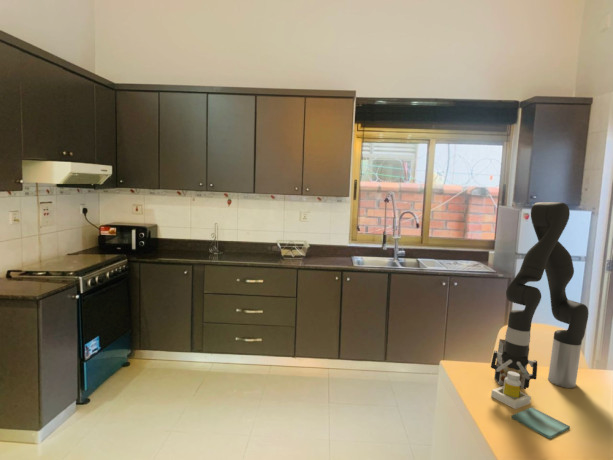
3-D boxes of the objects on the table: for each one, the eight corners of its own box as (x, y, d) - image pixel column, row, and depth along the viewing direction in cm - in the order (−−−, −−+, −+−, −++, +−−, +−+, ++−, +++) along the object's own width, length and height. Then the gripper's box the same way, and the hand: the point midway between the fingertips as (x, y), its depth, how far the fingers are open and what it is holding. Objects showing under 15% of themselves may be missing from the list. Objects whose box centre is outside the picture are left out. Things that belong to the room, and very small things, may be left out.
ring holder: (505, 391, 146) (506, 384, 145) (530, 403, 138) (530, 396, 138) (491, 396, 141) (491, 389, 141) (515, 409, 133) (516, 402, 133)
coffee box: (498, 385, 150) (503, 344, 148) (493, 377, 156) (498, 338, 155) (524, 388, 149) (529, 348, 147) (518, 380, 155) (523, 341, 153)
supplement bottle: (521, 405, 136) (524, 378, 135) (504, 402, 137) (507, 375, 136) (516, 397, 142) (519, 371, 141) (500, 394, 143) (503, 369, 142)
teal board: (531, 409, 134) (531, 407, 134) (569, 428, 124) (569, 426, 124) (511, 417, 128) (511, 415, 128) (549, 438, 118) (549, 436, 118)
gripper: (494, 338, 137) (488, 382, 139) (541, 349, 131) (534, 395, 132) (495, 332, 144) (490, 374, 146) (540, 342, 137) (534, 386, 139)
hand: (511, 384), depth 139 cm, fingers open, 8 cm apart
